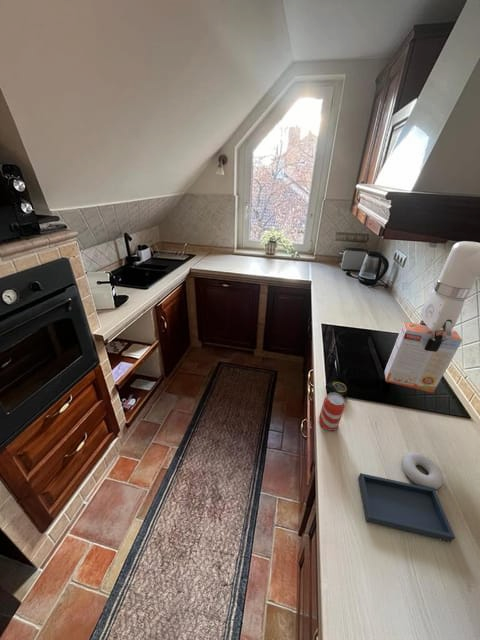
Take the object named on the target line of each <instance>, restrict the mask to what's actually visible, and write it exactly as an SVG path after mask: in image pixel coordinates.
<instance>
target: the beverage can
mask: <svg viewBox="0 0 480 640" xmlns="http://www.w3.org/2000/svg"><path fill="white" fill-rule="evenodd" d="M345 407H346V405H345V397H344V398H343V397H342V396H341V395H340V394H337V393H329V392H328V394H327V395H326V396H325V397H324V399H323V402H322V406H321V409H320V413H319V417H318V423H319V424H320V425H321V427H322V428H324V429H326V430H328V431H333V430H336V429H337V428H338V427H339V425H340V422H341V419H342V417H343V413H344V411H345Z"/></svg>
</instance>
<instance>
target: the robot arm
mask: <svg viewBox="0 0 480 640" xmlns="http://www.w3.org/2000/svg"><path fill="white" fill-rule="evenodd" d="M479 277H480V242H478V241H477V242H476V241H468V240H467V241H466V240H463V241H458V242H456V243H454V244H453V245H452V247H451V249H450V251H449V254H448V256H447V258H446V261H445V263H444V265H443V267H442V269H441V272H440V274H439V277H438V278H437V280H436V283H435V285H434V288H433V289H432V290H431V292H430V294H429V295H428V296H427V298H426V300H425V302H424V304H423V306H422V308H421V310H420V312H419V318H420V319H421V320H420V322H419V325H425V326H427V327H428V328H429V329H430V330H431V331H433V333H432V338H429V340H428V342H427V344H426V346H425V348H424V349H425V350H426V351H433V352H437V351H438V349H439V347H440V345H441V343H442V342H444V340H447V339H449V338H451V330H454V327H455V326H456V324H457V322H458V319H459V318H460V315H461V313H462V310H463V307H464V305H465V300H467V299H468V297H469V294H470V293H471V291H472V290H473V287H474V286H475V284H476V281H477V279H478V278H479ZM440 328H442V329H443V330H439V329H440ZM437 332H441V335H438V336H436V335H437Z"/></svg>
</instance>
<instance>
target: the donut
mask: <svg viewBox="0 0 480 640" xmlns="http://www.w3.org/2000/svg"><path fill="white" fill-rule="evenodd" d="M417 466H419V467H422V468H423V469H424V470H425V471H426V472H427V474H424V473H422V472H421V471H420V470H418V468H417ZM401 467H402V469H403V471H404V474H405V475H406V476H407V478H408V479H409V480H411V482H412V483H413V484H414V485H418V486H423V487H428V488H432V489H435V490H438V489H440V488H441V487H442V486H443V484H444V475H443V471H442V469H441V468H440V467H439V466H438V464H437V462H436V461H434V460H433V459H431V458H430V457H429V456H427V455H425V454H423V453H420V452H417V451H411V452H407V453H406V454H404V455H403V457H402V460H401Z"/></svg>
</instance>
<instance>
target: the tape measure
mask: <svg viewBox="0 0 480 640" xmlns="http://www.w3.org/2000/svg"><path fill="white" fill-rule="evenodd" d="M325 390H326V391H327V392H328V394H329V393H337V394H340V395H341V396H342V397H343V398H344V399H345V397H346V396H348V387H347V386H346V384H345V383H343V382H342V381H338V380H333V381H331V382H329V383H327V384H326V385H325Z"/></svg>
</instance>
